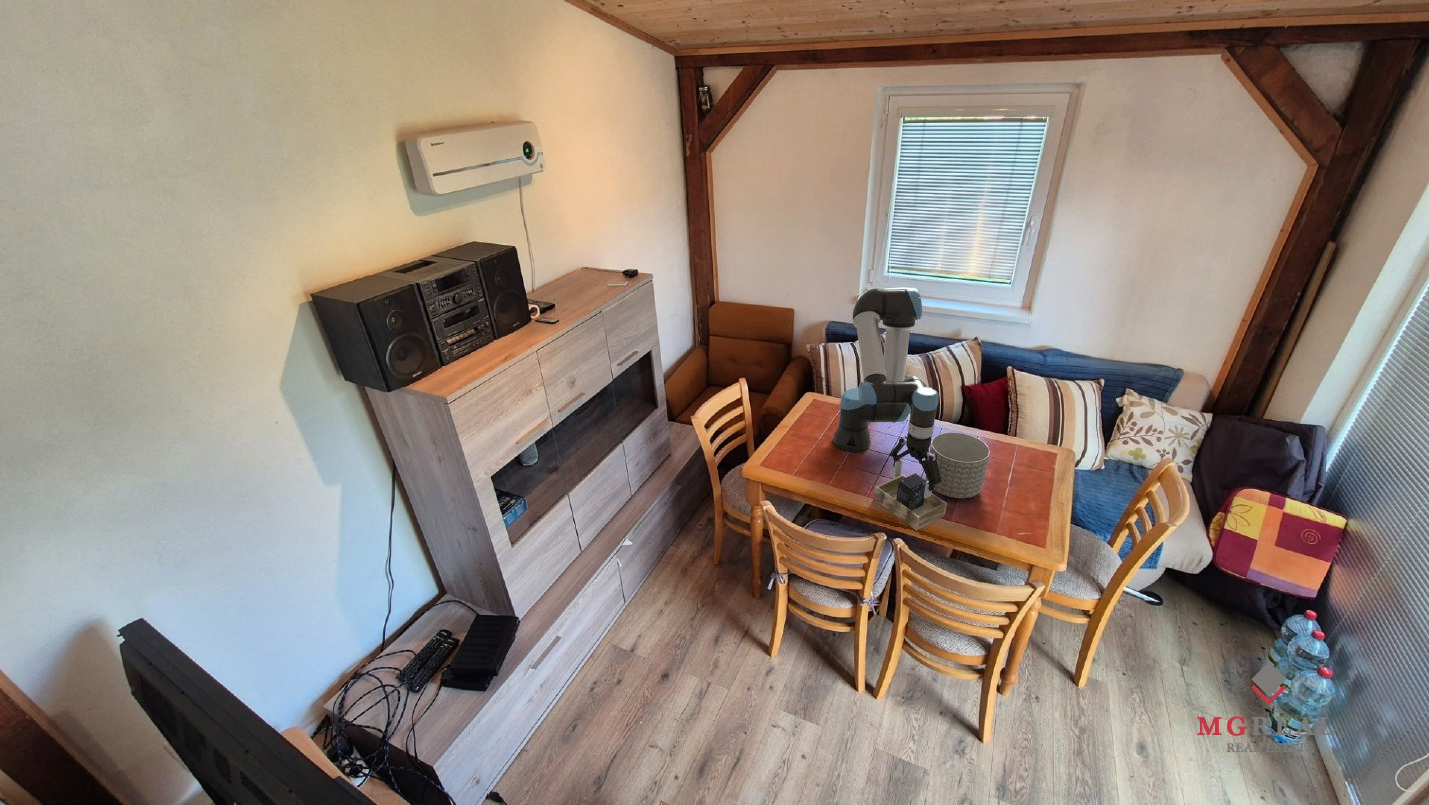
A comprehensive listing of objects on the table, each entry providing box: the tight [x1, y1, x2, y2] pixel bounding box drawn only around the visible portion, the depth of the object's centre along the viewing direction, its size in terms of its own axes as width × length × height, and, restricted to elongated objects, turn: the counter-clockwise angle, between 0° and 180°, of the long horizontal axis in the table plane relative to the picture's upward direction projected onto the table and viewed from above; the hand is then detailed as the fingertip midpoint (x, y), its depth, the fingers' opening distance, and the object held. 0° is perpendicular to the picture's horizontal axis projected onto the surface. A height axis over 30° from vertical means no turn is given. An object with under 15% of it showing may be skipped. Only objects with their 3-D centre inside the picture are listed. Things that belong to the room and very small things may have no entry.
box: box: [896, 472, 927, 510], centre depth 193 cm, size 8×6×11 cm
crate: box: [873, 473, 948, 531], centre depth 195 cm, size 20×14×6 cm
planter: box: [924, 431, 991, 499], centre depth 200 cm, size 19×19×18 cm
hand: (911, 486), depth 192 cm, fingers open, 13 cm apart
